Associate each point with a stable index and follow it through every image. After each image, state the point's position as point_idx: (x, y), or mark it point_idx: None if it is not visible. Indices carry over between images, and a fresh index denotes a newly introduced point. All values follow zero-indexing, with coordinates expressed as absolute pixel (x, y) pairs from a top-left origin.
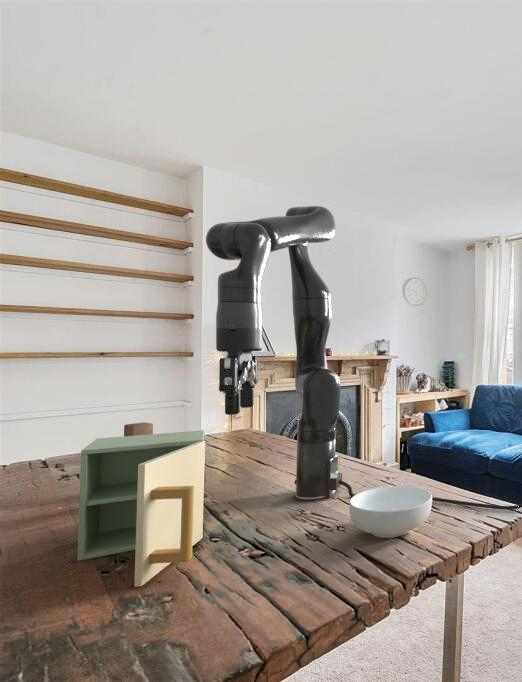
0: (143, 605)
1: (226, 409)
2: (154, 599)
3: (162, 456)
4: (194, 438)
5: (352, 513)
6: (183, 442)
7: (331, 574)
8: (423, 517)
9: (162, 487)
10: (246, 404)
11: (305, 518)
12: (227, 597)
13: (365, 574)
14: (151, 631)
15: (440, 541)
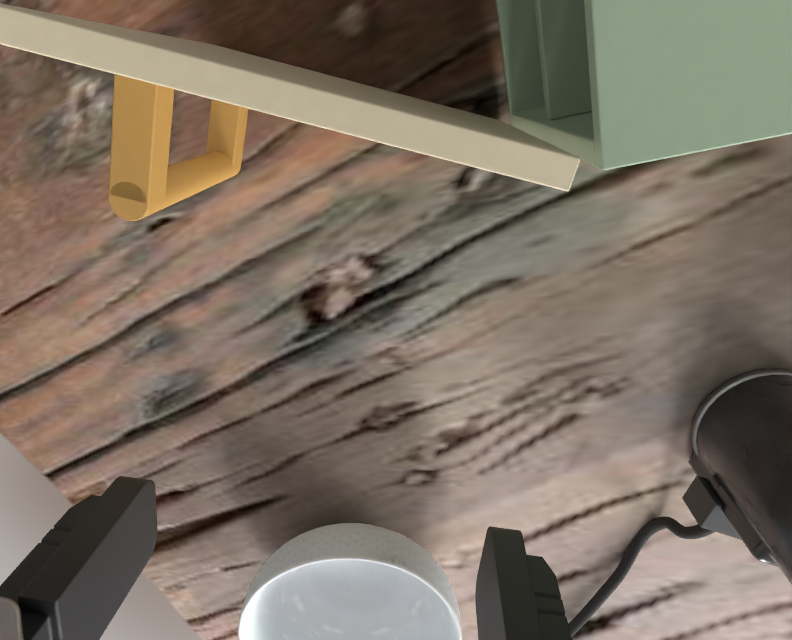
0: None
1: (72, 509)
2: None
3: (152, 65)
4: (685, 102)
5: (313, 544)
6: (594, 55)
7: (172, 449)
8: None
9: (144, 95)
10: (484, 575)
11: (536, 400)
12: (120, 271)
13: (156, 503)
14: (16, 156)
15: None
